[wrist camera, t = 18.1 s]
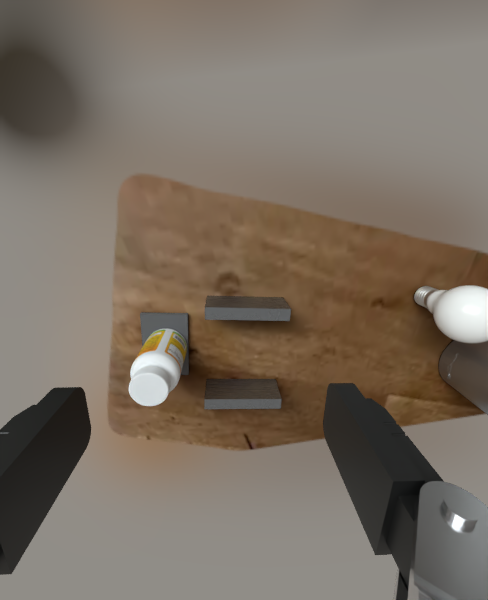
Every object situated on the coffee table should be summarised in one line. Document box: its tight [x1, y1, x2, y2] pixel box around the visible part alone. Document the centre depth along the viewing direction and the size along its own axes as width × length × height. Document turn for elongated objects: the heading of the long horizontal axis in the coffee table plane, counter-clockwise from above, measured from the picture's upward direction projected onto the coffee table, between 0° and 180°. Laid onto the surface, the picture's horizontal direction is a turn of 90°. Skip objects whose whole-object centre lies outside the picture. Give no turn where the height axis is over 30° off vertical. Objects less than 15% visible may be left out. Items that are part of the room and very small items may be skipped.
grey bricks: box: [205, 296, 291, 409], centre depth 36 cm, size 10×14×4 cm
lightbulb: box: [414, 285, 488, 344], centre depth 33 cm, size 6×6×11 cm
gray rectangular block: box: [140, 313, 189, 375], centre depth 37 cm, size 6×9×1 cm, turn 178°
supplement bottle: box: [129, 329, 187, 406], centre depth 33 cm, size 5×5×10 cm
